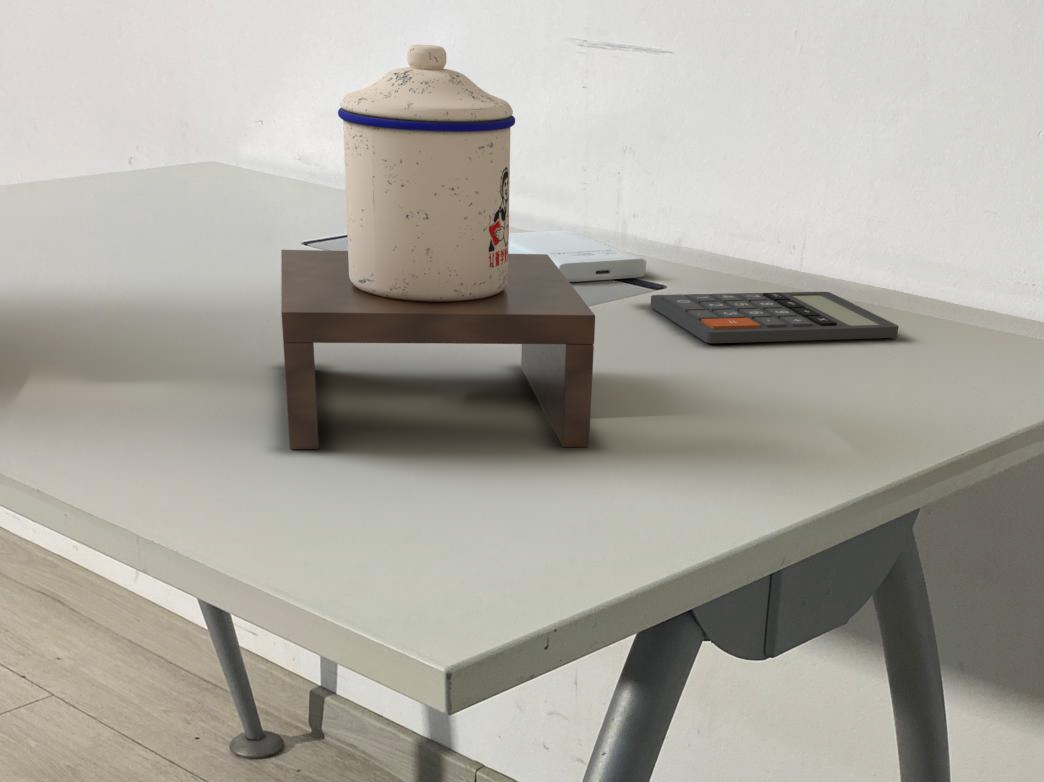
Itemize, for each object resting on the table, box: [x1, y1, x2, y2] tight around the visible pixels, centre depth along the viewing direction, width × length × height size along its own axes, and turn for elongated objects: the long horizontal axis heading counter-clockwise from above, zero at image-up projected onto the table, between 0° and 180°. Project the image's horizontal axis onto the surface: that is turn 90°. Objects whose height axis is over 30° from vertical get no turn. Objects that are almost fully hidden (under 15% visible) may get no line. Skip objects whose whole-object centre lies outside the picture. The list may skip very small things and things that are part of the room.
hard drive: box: [508, 230, 647, 283], centre depth 120 cm, size 2×8×12 cm
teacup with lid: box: [337, 44, 516, 302], centre depth 76 cm, size 12×9×12 cm
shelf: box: [280, 249, 596, 450], centre depth 81 cm, size 16×16×7 cm
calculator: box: [649, 291, 900, 344], centre depth 105 cm, size 12×1×15 cm
